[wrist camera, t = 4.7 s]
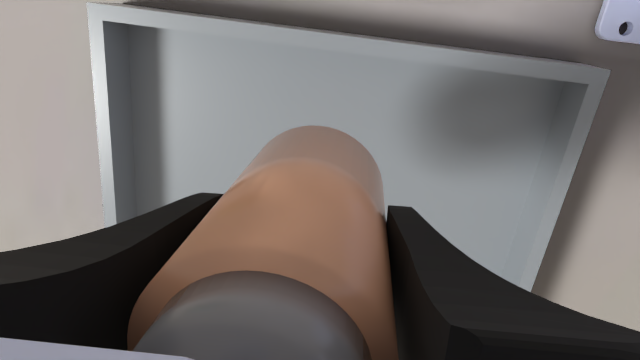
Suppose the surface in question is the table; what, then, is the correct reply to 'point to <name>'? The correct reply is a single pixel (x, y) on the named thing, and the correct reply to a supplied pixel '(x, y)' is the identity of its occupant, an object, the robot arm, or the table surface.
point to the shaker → (281, 263)
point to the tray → (342, 120)
